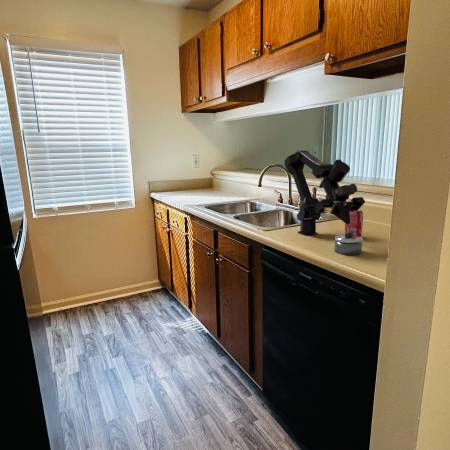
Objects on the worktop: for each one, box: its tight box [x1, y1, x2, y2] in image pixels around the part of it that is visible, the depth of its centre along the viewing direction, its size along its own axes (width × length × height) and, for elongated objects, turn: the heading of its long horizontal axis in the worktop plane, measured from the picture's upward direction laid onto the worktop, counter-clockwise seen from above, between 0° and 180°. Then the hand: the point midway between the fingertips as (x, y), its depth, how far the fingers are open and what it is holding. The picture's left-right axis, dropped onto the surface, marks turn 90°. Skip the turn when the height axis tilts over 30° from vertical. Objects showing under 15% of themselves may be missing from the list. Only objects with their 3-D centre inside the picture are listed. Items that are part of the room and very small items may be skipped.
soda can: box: [344, 208, 364, 237], centre depth 144 cm, size 7×7×12 cm
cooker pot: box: [334, 239, 363, 257], centre depth 124 cm, size 9×9×4 cm
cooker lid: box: [334, 232, 364, 243], centre depth 123 cm, size 10×10×3 cm
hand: (348, 223), depth 123 cm, fingers closed
